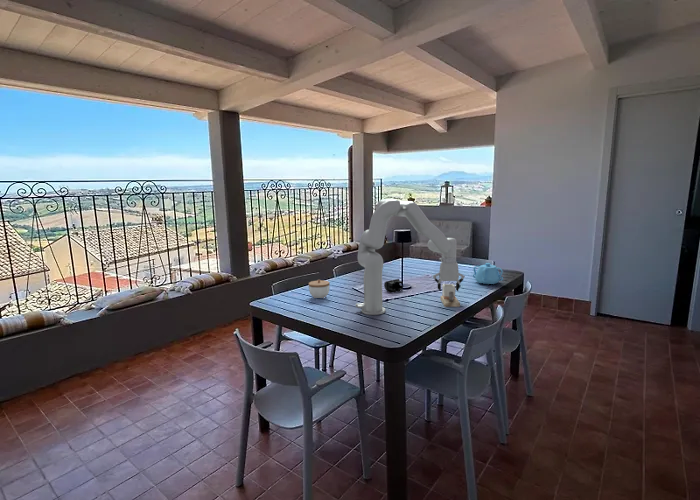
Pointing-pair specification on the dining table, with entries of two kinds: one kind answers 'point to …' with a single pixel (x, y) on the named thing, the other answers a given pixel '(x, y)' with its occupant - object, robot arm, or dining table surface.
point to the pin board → (450, 301)
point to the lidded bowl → (319, 288)
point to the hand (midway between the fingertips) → (448, 290)
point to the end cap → (393, 285)
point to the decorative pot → (487, 274)
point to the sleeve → (447, 290)
